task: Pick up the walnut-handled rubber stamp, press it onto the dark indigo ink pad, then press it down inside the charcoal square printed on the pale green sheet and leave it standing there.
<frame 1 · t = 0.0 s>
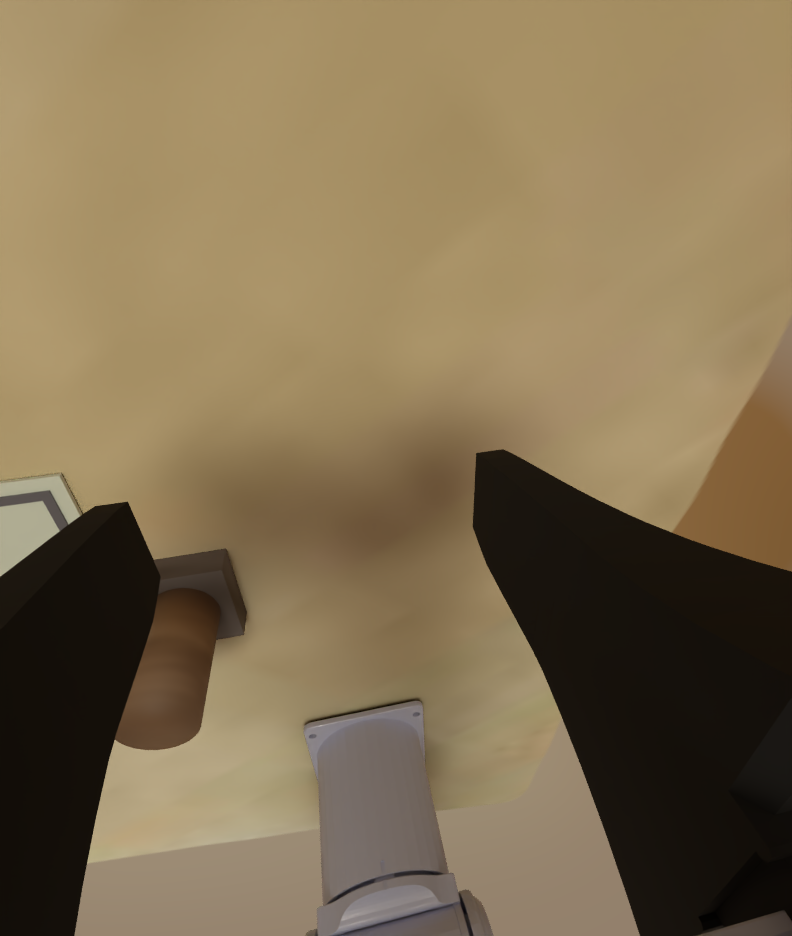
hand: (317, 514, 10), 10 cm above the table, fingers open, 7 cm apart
stamp: (190, 589, 23), on the table
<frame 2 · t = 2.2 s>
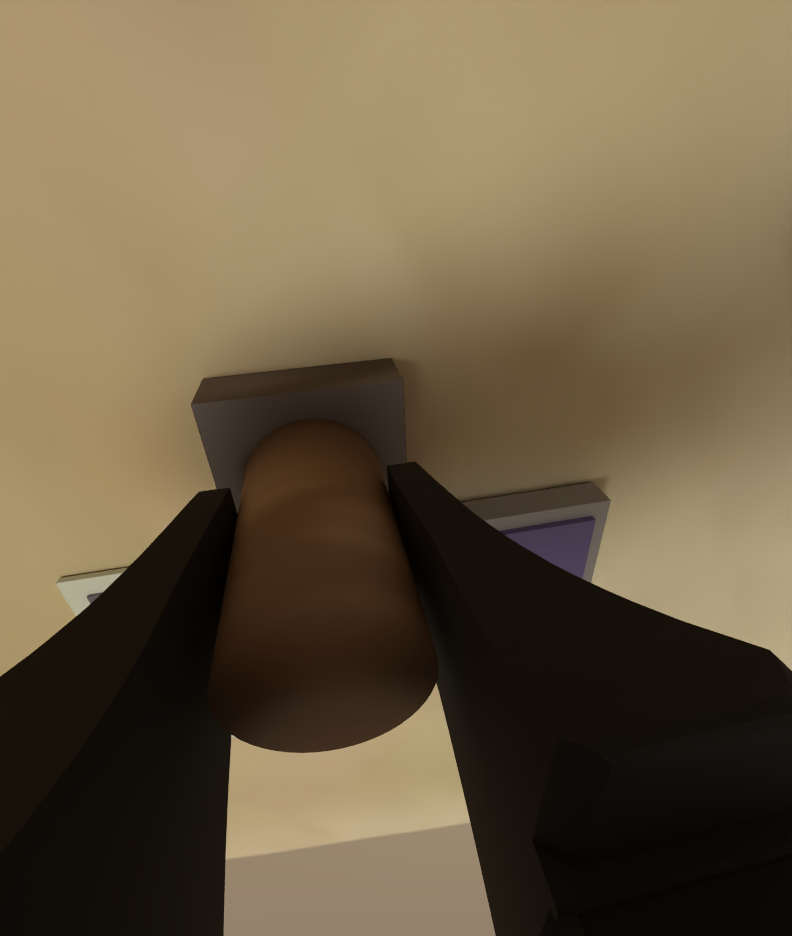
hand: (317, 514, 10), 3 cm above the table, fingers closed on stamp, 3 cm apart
stamp: (312, 449, 12), on the table, touching gripper
ink pad: (482, 569, 16), on the table
sheet: (256, 650, 16), on the table
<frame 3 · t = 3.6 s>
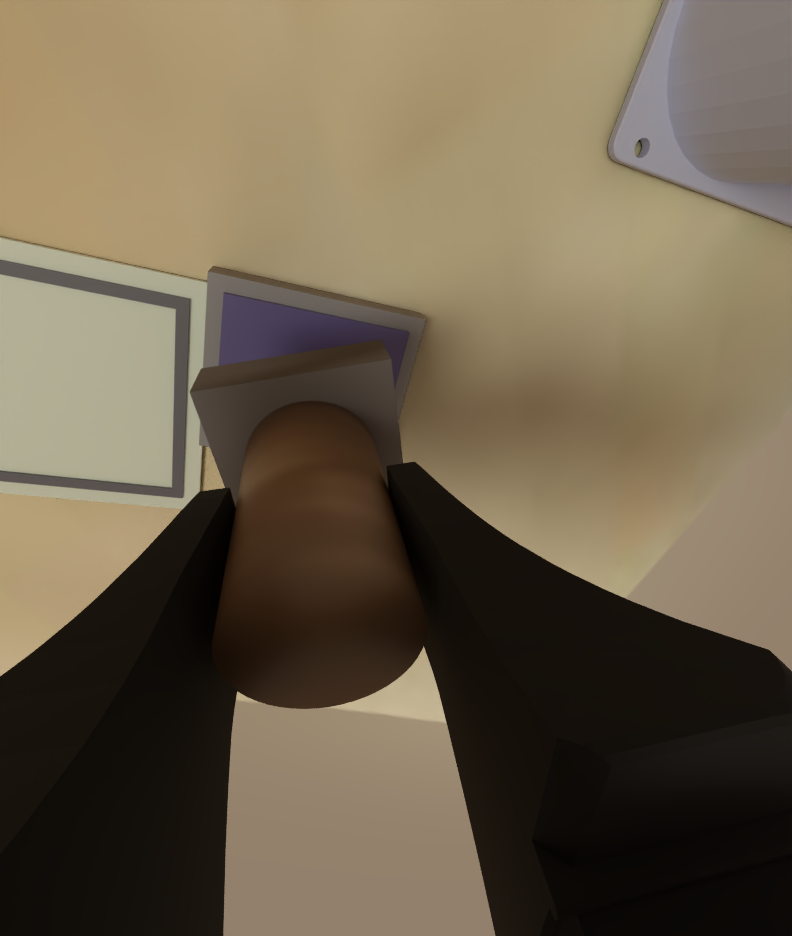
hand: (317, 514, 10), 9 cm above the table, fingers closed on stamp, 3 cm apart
stamp: (310, 432, 13), point 5 cm above the table, touching gripper
ink pad: (308, 374, 17), on the table
sheet: (64, 388, 16), on the table
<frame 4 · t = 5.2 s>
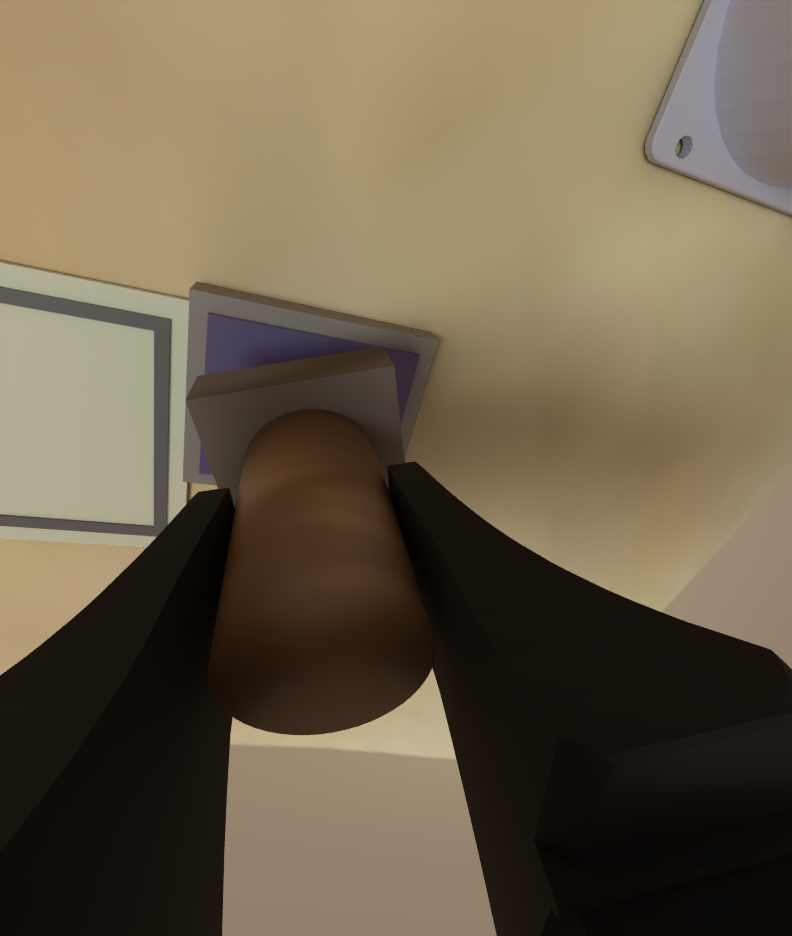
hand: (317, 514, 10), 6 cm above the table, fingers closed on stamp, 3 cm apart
stamp: (310, 441, 13), point 3 cm above the table, touching gripper
ink pad: (306, 400, 15), on the table
sheet: (28, 419, 14), on the table
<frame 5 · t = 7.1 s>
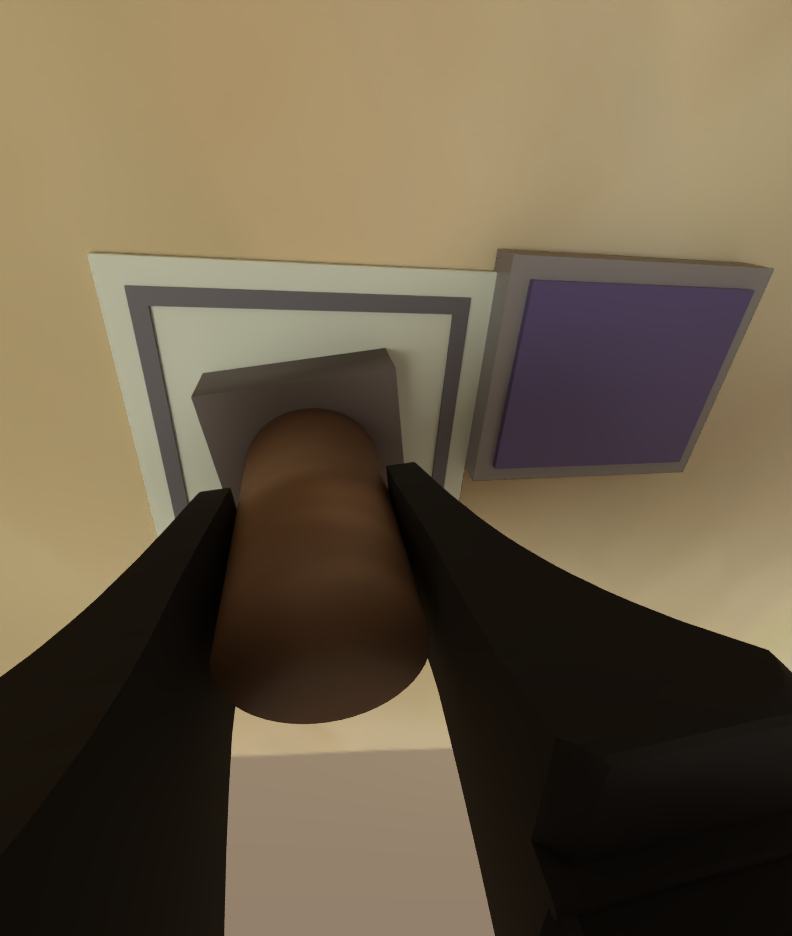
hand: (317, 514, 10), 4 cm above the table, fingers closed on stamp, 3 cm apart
stamp: (312, 439, 13), resting on sheet, touching gripper
ink pad: (593, 369, 13), on the table
sheet: (313, 437, 13), on the table
when the fingers open (3 cm above the table, at t = 8.4 s): stamp stays where it is, resting on sheet.
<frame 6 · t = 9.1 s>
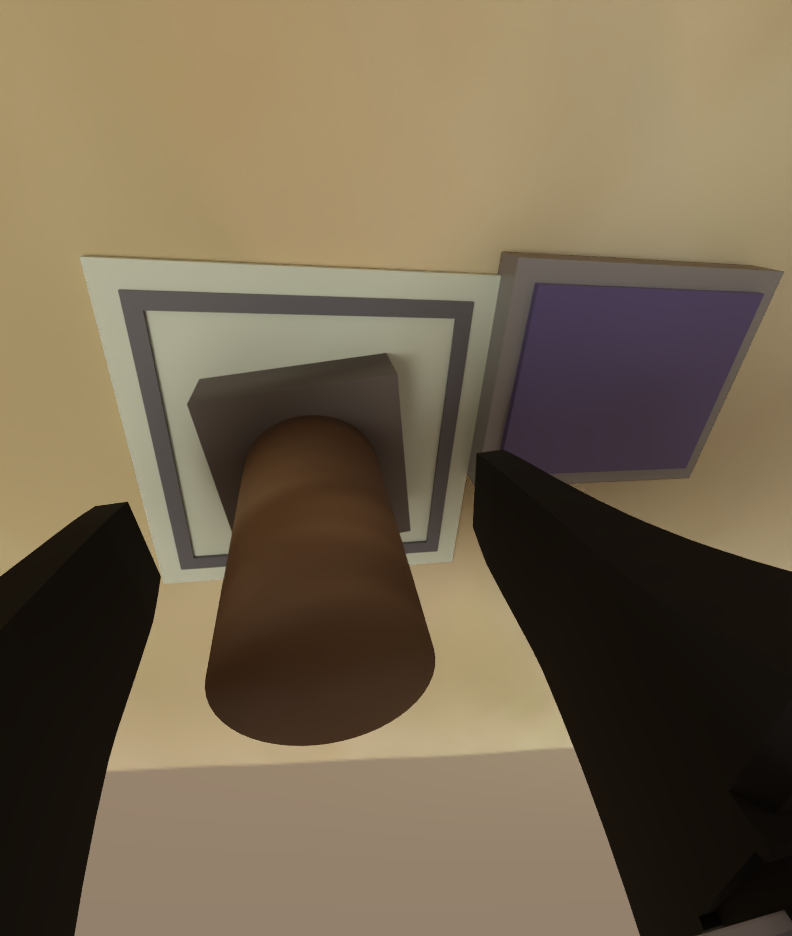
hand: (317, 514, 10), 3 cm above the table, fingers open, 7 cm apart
stamp: (311, 446, 12), resting on sheet
ink pad: (598, 374, 13), on the table
sheet: (312, 444, 13), on the table
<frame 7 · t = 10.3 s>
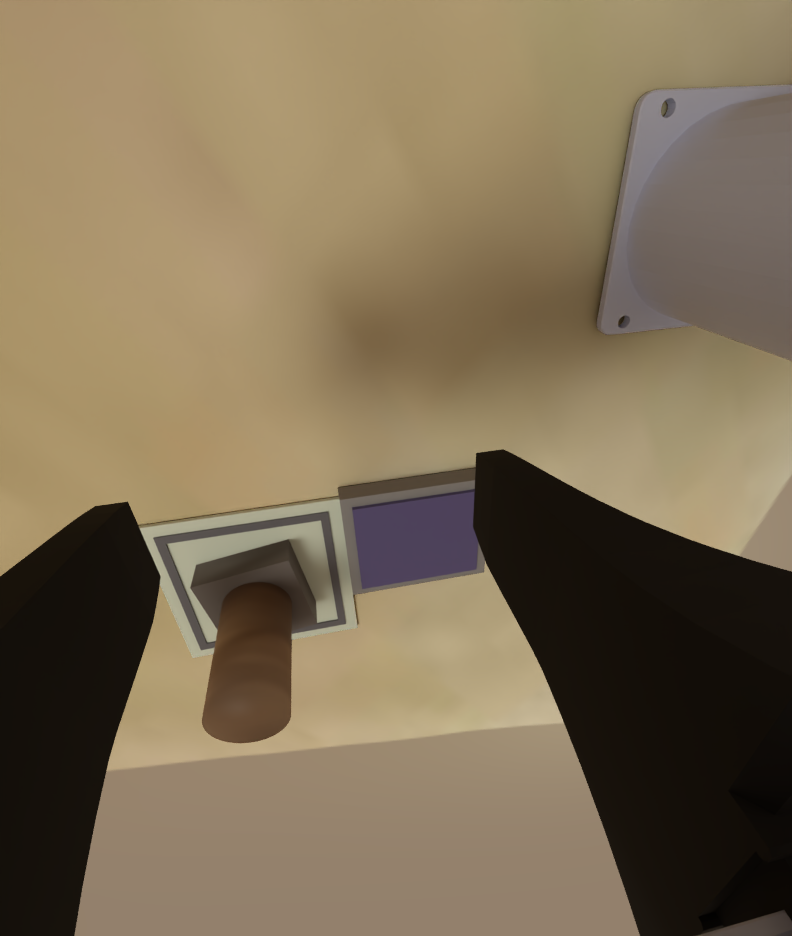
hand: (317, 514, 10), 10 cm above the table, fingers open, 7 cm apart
stamp: (259, 584, 23), resting on sheet
ink pad: (413, 526, 24), on the table
sheet: (260, 581, 24), on the table
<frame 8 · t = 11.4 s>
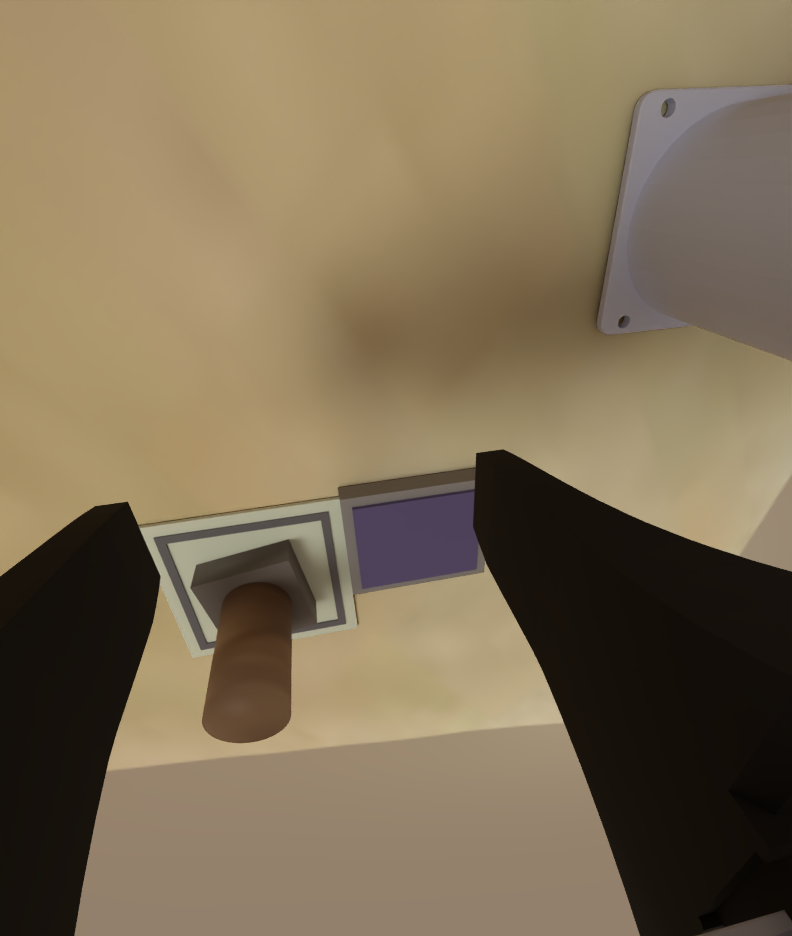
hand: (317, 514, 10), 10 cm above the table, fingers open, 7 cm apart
stamp: (259, 584, 23), resting on sheet
ink pad: (413, 526, 24), on the table
sheet: (260, 581, 24), on the table
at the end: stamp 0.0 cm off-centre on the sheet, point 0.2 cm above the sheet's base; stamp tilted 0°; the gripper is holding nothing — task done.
